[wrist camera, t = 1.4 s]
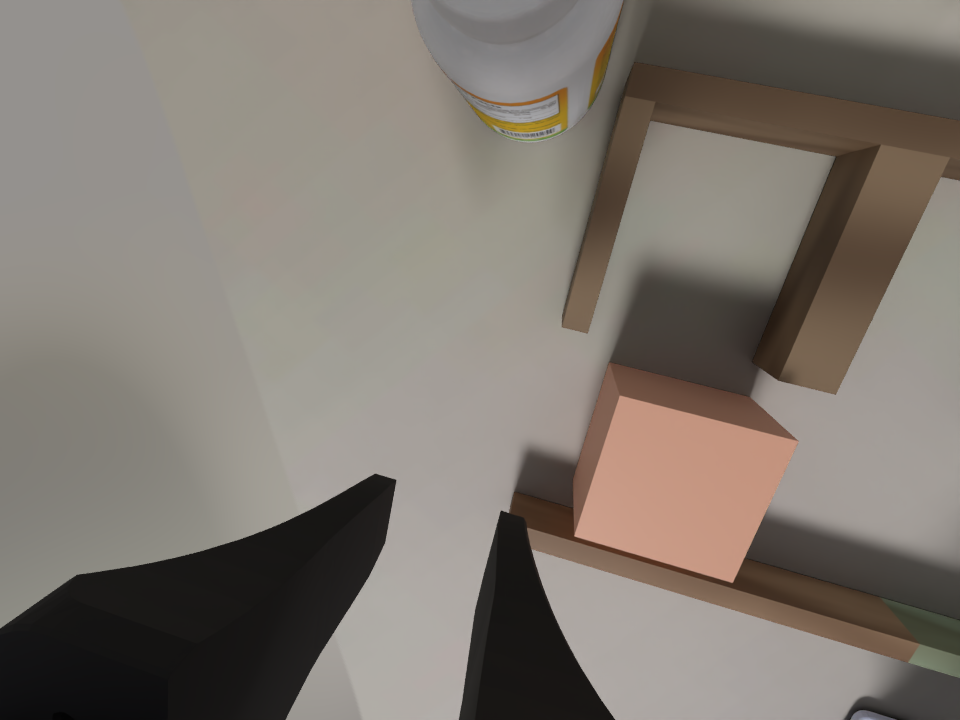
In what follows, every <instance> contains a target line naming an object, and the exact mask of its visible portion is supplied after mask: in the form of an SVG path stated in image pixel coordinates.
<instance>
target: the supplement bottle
mask: <svg viewBox="0 0 960 720" xmlns="http://www.w3.org/2000/svg"><path fill="white" fill-rule="evenodd" d="M623 1H624V0H411V3H412V8H413V12H414V16H415V19H416V23H417V26H418V29H419V31H420V34H421V36H422V38H423V40H424V42H425V44H426V46H427V48H428V50H429V51H430V53H431V55H432V56H433V58H434V60H435V61H436V63H437V64H438V65H439V67H440V68H441V69H442V71H443V72H444V73H445V74H446V76H447V77H448V78H449V79H450V80H451V82H452V83H453V84H454V85H455V87H456V88H457V89H458V90H459V92H460V93H461V95H462V96H463V97H464V98H465V100H466V101H467V102H468V104H469V105H470V106H471V107H472V109H473V110H474V111H475V112H476V114H477V115H478V116H479V117H480V119H481V120H482V121H483V122H484V123H485V124H486V125H487V126H488V127H489V128H491V129H492V130H493V131H495V132H496V133H498V134H500V135H502V136H504V137H506V138H508V139H512V140H515V141H519V142H540V141H545V140H548V139H551V138H554V137H556V136H559V135H561V134H563V133H564V132H566V131H567V130H569V129H570V128H572V127H573V126H574V125H575V124H577V123H578V122H579V121H580V120H581V119H582V118H583V116H584V115H585V114H586V113H587V112H588V110H589V109H590V107H591V106H592V104H593V103H594V101H595V99H596V97H597V95H598V93H599V91H600V88H601V86H602V83H603V80H604V77H605V73H606V69H607V65H608V60H609V56H610V52H611V47H612V43H613V39H614V36H615V32H616V28H617V24H618V20H619V17H620V13H621V10H622V6H623Z"/></svg>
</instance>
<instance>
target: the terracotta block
mask: <svg viewBox="0 0 960 720" xmlns="http://www.w3.org/2000/svg"><path fill="white" fill-rule="evenodd" d="M798 442H799V441H798V440H797V439H795V438H794V437H793V436H792V435H791V434H790V433H789V432H788V431H787V430H786V429H784V428H783V427H782V426H781V425H780V424H779V423H778V422H777V421H776V420H775V419H773V418H772V417H771V416H770V415H769V414H768V413H767V412H766V411H765V410H764V409H762V408H761V407H760V406H759V405H758V404H757V403H756V402H755V401H754V400H753V399H751V398H750V397H747V396H743V395H739V394H735V393H731V392H727V391H723V390H719V389H715V388H711V387H707V386H703V385H699V384H695V383H691V382H687V381H683V380H679V379H675V378H671V377H667V376H663V375H659V374H655V373H651V372H647V371H643V370H639V369H635V368H631V367H627V366H623V365H619V364H615V363H611V362H609V364H608V367H607V371H606V374H605V377H604V380H603V383H602V387H601V390H600V393H599V396H598V400H597V403H596V406H595V409H594V413H593V416H592V419H591V422H590V426H589V429H588V432H587V435H586V438H585V442H584V445H583V448H582V451H581V455H580V458H579V461H578V464H577V468H576V471H575V474H574V477H573V506H574V536H575V537H578V538H581V539H585V540H588V541H592V542H595V543H598V544H602V545H605V546H609V547H612V548H615V549H619V550H622V551H626V552H629V553H633V554H636V555H639V556H643V557H646V558H650V559H653V560H656V561H660V562H663V563H667V564H670V565H673V566H677V567H680V568H684V569H687V570H690V571H694V572H697V573H701V574H704V575H707V576H711V577H714V578H718V579H721V580H724V581H728V582H731V583H733V581H734V579H735V577H736V575H737V573H738V571H739V568H740V566H741V564H742V562H743V560H744V558H745V556H746V553H747V551H748V549H749V547H750V545H751V543H752V540H753V538H754V536H755V534H756V532H757V530H758V528H759V525H760V523H761V521H762V519H763V517H764V515H765V513H766V510H767V508H768V506H769V504H770V502H771V500H772V498H773V495H774V493H775V491H776V489H777V487H778V485H779V482H780V480H781V478H782V476H783V474H784V472H785V470H786V467H787V465H788V463H789V461H790V459H791V457H792V455H793V452H794V450H795V448H796V446H797V444H798Z"/></svg>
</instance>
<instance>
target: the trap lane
mask: <svg viewBox="0 0 960 720" xmlns="http://www.w3.org/2000/svg"><path fill="white" fill-rule="evenodd" d="M650 121H655V122H661V123H666V124H671V125H676V126H681V127H686V128H692V129H697V130H702V131H707V132H712V133H717V134H723V135H728V136H733V137H738V138H743V139H748V140H754V141H759V142H764V143H769V144H774V145H779V146H785V147H790V148H795V149H800V150H805V151H810V152H816V153H821V154H826V155H831V156H836V159H835V162H834V164H833V167H832V169H831V172H830V174H829V176H828V179H827V181H826V184H825V186H824V189H823V191H822V193H821V196H820V198H819V201H818V203H817V205H816V208H815V210H814V213H813V215H812V218H811V220H810V222H809V225H808V227H807V230H806V232H805V235H804V237H803V239H802V242H801V244H800V247H799V249H798V251H797V254H796V256H795V259H794V261H793V264H792V266H791V268H790V271H789V273H788V276H787V278H786V281H785V283H784V285H783V288H782V290H781V293H780V295H779V298H778V300H777V302H776V305H775V307H774V310H773V312H772V314H771V317H770V319H769V322H768V324H767V327H766V329H765V331H764V334H763V336H762V339H761V341H760V344H759V346H758V348H757V351H756V353H755V356H754V358H753V361H752V362H753V363H754V364H756V365H757V366H758V367H760V368H761V369H763V370H764V371H765V372H767V373H768V374H770V375H771V376H773V377H774V378H775V379H777V380H778V381H782V382H786V383H790V384H794V385H798V386H803V387H807V388H811V389H815V390H819V391H823V392H827V393H831V394H835V395H836V393H837V391H838V389H839V387H840V385H841V383H842V381H843V379H844V377H845V375H846V372H847V370H848V368H849V366H850V364H851V362H852V360H853V358H854V356H855V354H856V352H857V350H858V348H859V346H860V343H861V341H862V339H863V337H864V335H865V333H866V331H867V329H868V327H869V325H870V323H871V321H872V319H873V316H874V314H875V312H876V310H877V308H878V306H879V304H880V302H881V300H882V298H883V296H884V294H885V292H886V289H887V287H888V285H889V283H890V281H891V279H892V277H893V275H894V273H895V271H896V269H897V267H898V265H899V263H900V260H901V258H902V256H903V254H904V252H905V250H906V248H907V246H908V244H909V242H910V240H911V238H912V236H913V233H914V231H915V229H916V227H917V225H918V223H919V221H920V219H921V217H922V215H923V213H924V211H925V209H926V207H927V204H928V202H929V200H930V198H931V196H932V194H933V192H934V190H935V188H936V186H937V184H938V182H939V180H940V177H945V178H950V179H955V180H960V121H958V120H953V119H947V118H942V117H936V116H931V115H925V114H919V113H914V112H908V111H903V110H897V109H892V108H886V107H881V106H875V105H870V104H864V103H859V102H853V101H847V100H842V99H836V98H831V97H825V96H820V95H814V94H809V93H803V92H798V91H792V90H787V89H781V88H776V87H770V86H764V85H759V84H753V83H748V82H742V81H737V80H731V79H726V78H720V77H715V76H709V75H704V74H698V73H692V72H687V71H681V70H676V69H670V68H665V67H659V66H654V65H648V64H643V63H637V62H634V64H633V67H632V69H631V72H630V74H629V77H628V79H627V81H626V84H625V87H624V91H623V94H622V98H621V102H620V105H619V109H618V113H617V116H616V120H615V124H614V127H613V131H612V135H611V138H610V142H609V146H608V150H607V153H606V157H605V161H604V164H603V168H602V172H601V175H600V179H599V183H598V186H597V190H596V194H595V197H594V201H593V205H592V208H591V212H590V216H589V219H588V223H587V227H586V230H585V234H584V238H583V241H582V245H581V249H580V252H579V256H578V260H577V263H576V267H575V271H574V274H573V278H572V282H571V285H570V289H569V293H568V296H567V300H566V304H565V308H564V311H563V315H562V327H563V328H567V329H571V330H575V331H580V332H584V333H588V331H589V327H590V324H591V321H592V317H593V314H594V310H595V307H596V303H597V300H598V297H599V293H600V290H601V286H602V283H603V280H604V276H605V273H606V269H607V266H608V263H609V259H610V256H611V252H612V249H613V245H614V242H615V239H616V235H617V232H618V228H619V225H620V222H621V218H622V215H623V211H624V208H625V204H626V201H627V198H628V194H629V191H630V187H631V184H632V181H633V177H634V174H635V170H636V167H637V163H638V160H639V157H640V153H641V150H642V146H643V143H644V140H645V136H646V133H647V129H648V126H649V122H650ZM509 513H510V514H514V515H517V516H521V517H524V519H525V521H526V522H527V531H528V536H529V541H530V546H531V549H533V550H536V551H539V552H543V553H546V554H549V555H553V556H556V557H559V558H563V559H566V560H569V561H573V562H576V563H579V564H583V565H586V566H589V567H593V568H596V569H599V570H603V571H606V572H609V573H612V574H616V575H619V576H622V577H626V578H629V579H632V580H636V581H639V582H642V583H646V584H649V585H652V586H656V587H659V588H662V589H666V590H669V591H672V592H675V593H679V594H682V595H685V596H689V597H692V598H695V599H699V600H702V601H705V602H709V603H712V604H715V605H719V606H722V607H725V608H729V609H732V610H735V611H739V612H742V613H745V614H748V615H752V616H755V617H758V618H762V619H765V620H768V621H772V622H775V623H778V624H782V625H785V626H788V627H792V628H795V629H798V630H802V631H805V632H808V633H811V634H815V635H818V636H821V637H825V638H828V639H831V640H835V641H838V642H841V643H845V644H848V645H851V646H855V647H858V648H861V649H865V650H868V651H871V652H875V653H878V654H881V655H884V656H888V657H891V658H894V659H898V660H901V661H904V662H908V663H911V664H914V665H918V666H921V667H924V668H928V669H931V670H934V671H938V672H941V673H944V674H947V675H951V676H954V677H957V678H960V620H957V619H953V618H950V617H946V616H943V615H940V614H936V613H933V612H929V611H926V610H922V609H919V608H915V607H912V606H908V605H905V604H901V603H898V602H895V601H891V600H888V599H884V598H881V597H877V596H874V595H870V594H867V593H863V592H860V591H856V590H853V589H850V588H846V587H843V586H839V585H836V584H832V583H829V582H825V581H822V580H818V579H815V578H812V577H808V576H805V575H801V574H798V573H794V572H791V571H787V570H784V569H780V568H777V567H773V566H770V565H767V564H763V563H760V562H756V561H753V560H749V559H746V558H744V560H743V562H742V564H741V566H740V568H739V571H738V573H737V575H736V577H735V579H734V581H733V583H731V582H728V581H724V580H721V579H718V578H714V577H711V576H707V575H704V574H701V573H697V572H694V571H690V570H687V569H684V568H680V567H677V566H673V565H670V564H667V563H663V562H660V561H656V560H653V559H650V558H646V557H643V556H639V555H636V554H633V553H629V552H626V551H622V550H619V549H615V548H612V547H609V546H605V545H602V544H598V543H595V542H592V541H588V540H585V539H581V538H578V537H575V536H574V509H573V508H569V507H566V506H562V505H559V504H555V503H552V502H548V501H545V500H542V499H538V498H535V497H531V496H528V495H524V494H521V493H517V492H514V495H513V499H512V502H511V506H510V510H509Z"/></svg>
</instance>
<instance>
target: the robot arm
mask: <svg viewBox="0 0 960 720" xmlns="http://www.w3.org/2000/svg"><path fill="white" fill-rule="evenodd" d="M395 485H396V480H395V479H391V478H388V477H385V476H381V475H378V474H374V475H372V476H370V477H368V478H366V479H365V480H363V481H361V482H359V483H358V484H356V485H354V486H353V487H351V488H349V489H347V490H346V491H344V492H342V493H340V494H339V495H337V496H335V497H333V498H331V499H330V500H328V501H326V502H324V503H322V504H320V505H319V506H317V507H315V508H313V509H311V510H309V511H307V512H305V513H303V514H301V515H299V516H296V517H294V518H292V519H290V520H288V521H286V522H284V523H281V524H280V525H277V526H274V527H272V528H270V529H267V530H265V531H262V532H259V533H256V534H254V535H251V536H249V537H246V538H243V539H240V540H237V541H234V542H230V543H227V544H224V545H220V546H217V547H214V548H211V549H207V550H204V551H200V552H197V553H193V554H189V555H185V556H181V557H177V558H172V559H168V560H164V561H158V562H154V563H149V564H144V565H139V566H133V567H126V568H120V569H114V570H107V571H102V572H94V573H87V574H80V575H76V576H75V577H73V578H72V579H70V580H69V581H67V582H66V583H64V584H63V585H62V586H60V587H59V588H57V589H56V590H54V591H53V592H52V593H50V594H49V595H48V596H46V597H44V598H43V599H42V600H40V601H39V602H37V603H36V604H34V605H33V606H32V607H30V608H29V609H27V610H26V611H25V612H23V613H22V614H20V615H19V616H17V617H16V618H15V619H13V620H12V621H10V622H9V623H7V624H6V625H5V626H3V627H2V628H0V720H285V719H286V717H287V715H288V713H289V711H290V709H291V707H292V705H293V704H294V702H295V700H296V698H297V696H298V694H299V692H300V690H301V688H302V686H303V684H304V682H305V680H306V678H307V676H308V675H309V673H310V671H311V669H312V667H313V665H314V664H315V662H316V660H317V659H318V657H319V655H320V653H321V652H322V650H323V649H324V647H325V645H326V644H327V642H328V641H329V639H330V638H331V636H332V634H333V633H334V631H335V630H336V628H337V626H338V625H339V623H340V622H341V620H342V619H343V617H344V615H345V614H346V612H347V611H348V609H349V608H350V606H351V604H352V603H353V601H354V600H355V598H356V596H357V595H358V593H359V592H360V590H361V589H362V587H363V585H364V584H365V582H366V580H367V579H368V577H369V575H370V573H371V571H372V569H373V567H374V565H375V563H376V561H377V559H378V557H379V555H380V552H381V550H382V548H383V546H384V544H385V541H386V535H387V529H388V524H389V518H390V513H391V507H392V502H393V496H394V491H395ZM459 720H615V719H614V717H613V716H612V715H611V713H610V712H609V710H608V709H607V708H606V706H605V705H604V703H603V702H602V701H601V699H600V697H599V696H598V694H597V693H596V691H595V689H594V688H593V686H592V685H591V683H590V681H589V680H588V678H587V677H586V675H585V673H584V672H583V670H582V669H581V667H580V665H579V664H578V662H577V660H576V658H575V656H574V654H573V653H572V651H571V649H570V647H569V645H568V643H567V641H566V639H565V637H564V635H563V633H562V631H561V629H560V627H559V625H558V623H557V620H556V618H555V616H554V614H553V611H552V609H551V606H550V604H549V601H548V599H547V596H546V594H545V591H544V588H543V586H542V583H541V580H540V577H539V574H538V570H537V567H536V564H535V561H534V557H533V554H532V550H531V546H530V541H529V536H528V531H527V522H526V521H525V519H524V517H521V516H517V515H514V514H510V513H507V512H504V511H501V512H500V516H499V519H498V523H497V527H496V531H495V535H494V538H493V542H492V546H491V550H490V553H489V557H488V561H487V565H486V568H485V572H484V576H483V580H482V584H481V588H480V593H479V597H478V601H477V605H476V609H475V615H474V622H473V629H472V636H471V643H470V650H469V657H468V664H467V671H466V678H465V685H464V693H463V700H462V705H461V711H460V717H459ZM850 720H896V719H893V718H889V717H886V716H883V715H880V714H877V713H874V712H870V711H866V710H860V711H857V712H856V713H855V714H854V715H853V716H852V718H851V719H850Z"/></svg>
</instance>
